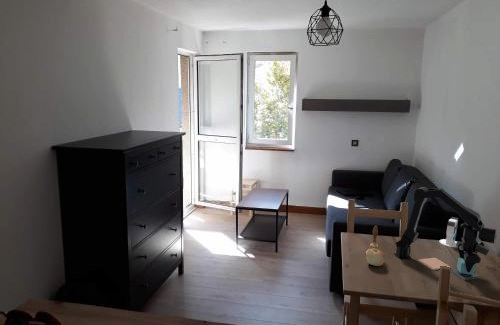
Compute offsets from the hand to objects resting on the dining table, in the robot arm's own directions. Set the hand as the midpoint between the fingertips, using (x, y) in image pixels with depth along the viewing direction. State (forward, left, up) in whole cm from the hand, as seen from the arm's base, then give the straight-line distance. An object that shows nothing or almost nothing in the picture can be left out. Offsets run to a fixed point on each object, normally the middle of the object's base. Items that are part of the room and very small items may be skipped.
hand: (465, 268), depth 187 cm
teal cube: (0, 0, -2) cm, 2 cm away
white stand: (+23, +35, -4) cm, 42 cm away
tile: (-7, +13, -4) cm, 15 cm away
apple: (-38, +19, -4) cm, 43 cm away
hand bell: (-31, +31, -4) cm, 44 cm away
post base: (0, 0, -4) cm, 4 cm away
